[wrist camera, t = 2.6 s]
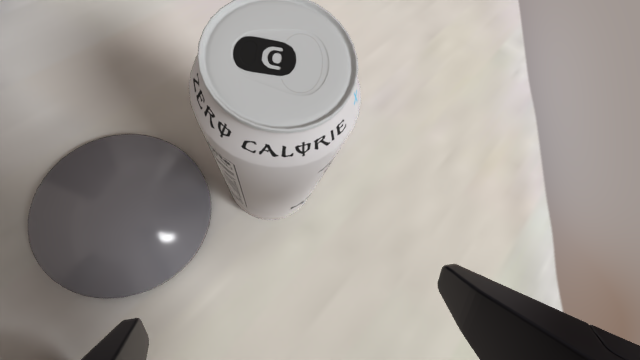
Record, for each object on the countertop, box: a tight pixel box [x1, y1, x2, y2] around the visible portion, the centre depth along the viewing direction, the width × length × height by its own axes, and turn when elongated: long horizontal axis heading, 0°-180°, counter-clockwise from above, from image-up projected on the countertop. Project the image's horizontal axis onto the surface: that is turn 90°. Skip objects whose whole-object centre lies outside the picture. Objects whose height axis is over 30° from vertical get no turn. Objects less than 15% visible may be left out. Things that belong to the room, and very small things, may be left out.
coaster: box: [28, 134, 211, 298], centre depth 21 cm, size 11×11×1 cm
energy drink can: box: [189, 0, 361, 220], centre depth 17 cm, size 6×6×15 cm
